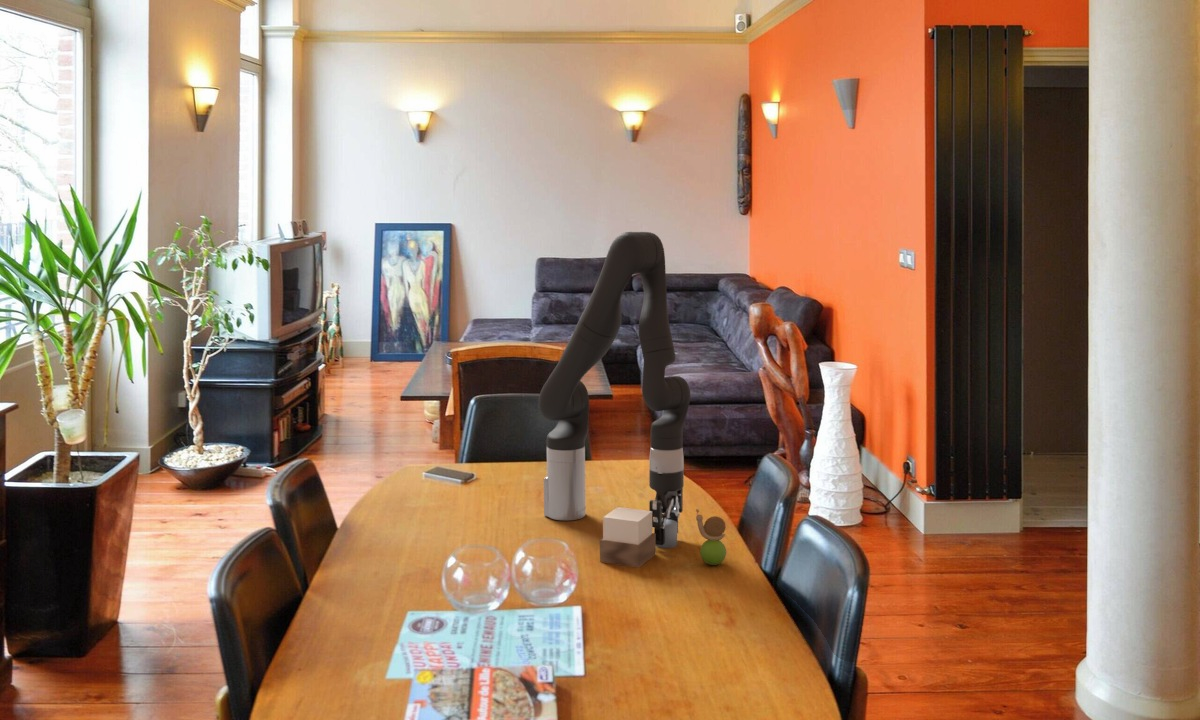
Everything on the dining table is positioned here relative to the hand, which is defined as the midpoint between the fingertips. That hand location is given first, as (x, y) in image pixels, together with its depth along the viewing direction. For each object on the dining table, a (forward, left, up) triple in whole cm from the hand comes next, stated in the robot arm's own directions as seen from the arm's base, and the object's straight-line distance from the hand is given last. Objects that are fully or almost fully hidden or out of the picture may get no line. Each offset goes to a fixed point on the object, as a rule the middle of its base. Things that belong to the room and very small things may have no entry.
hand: (666, 538), depth 237 cm
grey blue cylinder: (0, 0, -1) cm, 1 cm away
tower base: (-4, -12, -2) cm, 13 cm away
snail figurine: (+13, -8, -1) cm, 16 cm away
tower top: (-4, -12, +3) cm, 13 cm away
